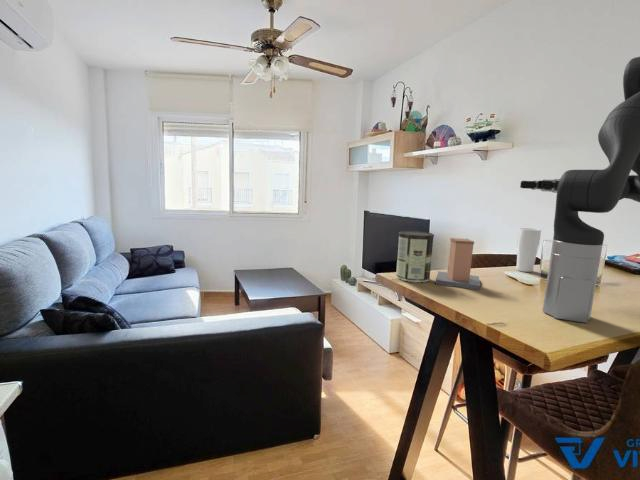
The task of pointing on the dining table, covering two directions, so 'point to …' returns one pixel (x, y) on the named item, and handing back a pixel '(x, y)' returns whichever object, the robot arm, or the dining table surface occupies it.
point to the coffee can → (414, 256)
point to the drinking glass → (527, 248)
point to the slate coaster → (458, 281)
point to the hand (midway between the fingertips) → (528, 184)
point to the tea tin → (460, 259)
